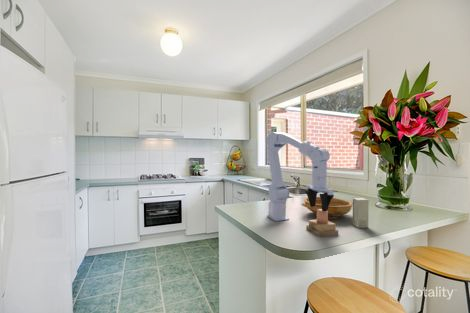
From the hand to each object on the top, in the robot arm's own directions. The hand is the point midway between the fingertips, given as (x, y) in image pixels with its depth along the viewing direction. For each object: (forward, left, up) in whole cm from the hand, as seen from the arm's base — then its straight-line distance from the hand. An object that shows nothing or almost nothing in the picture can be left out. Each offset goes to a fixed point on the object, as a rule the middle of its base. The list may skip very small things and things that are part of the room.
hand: (318, 208), depth 95 cm
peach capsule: (+2, +1, -5) cm, 6 cm away
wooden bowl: (-18, +21, -10) cm, 30 cm away
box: (+1, +23, -10) cm, 25 cm away
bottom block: (+1, +1, -10) cm, 11 cm away
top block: (+1, +1, -8) cm, 8 cm away
